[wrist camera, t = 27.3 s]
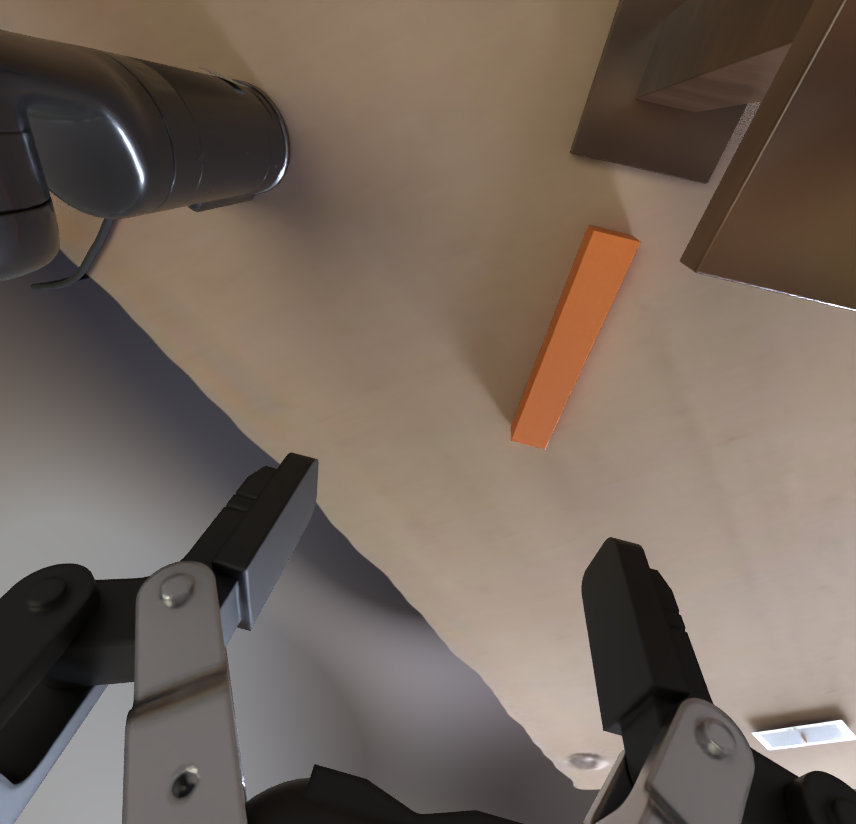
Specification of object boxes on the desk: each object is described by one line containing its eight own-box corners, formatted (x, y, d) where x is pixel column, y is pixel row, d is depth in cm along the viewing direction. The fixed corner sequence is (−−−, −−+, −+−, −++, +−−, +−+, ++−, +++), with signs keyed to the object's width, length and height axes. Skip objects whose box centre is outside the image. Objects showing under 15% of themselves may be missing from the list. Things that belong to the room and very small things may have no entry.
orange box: (543, 435, 55) (545, 449, 52) (510, 427, 55) (510, 440, 52) (632, 235, 41) (640, 241, 38) (588, 224, 41) (593, 230, 38)
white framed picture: (854, 732, 78) (862, 746, 76) (766, 743, 85) (771, 756, 84) (837, 713, 76) (845, 726, 74) (748, 726, 83) (753, 739, 81)
